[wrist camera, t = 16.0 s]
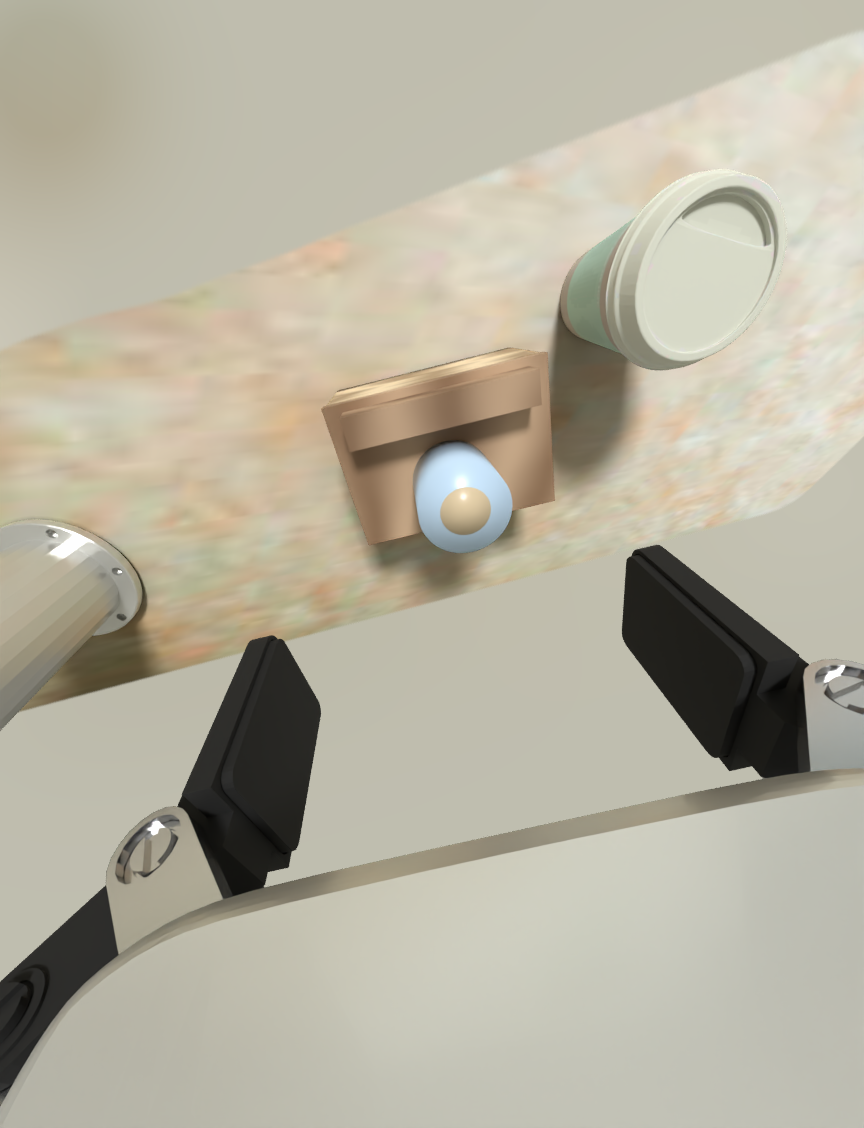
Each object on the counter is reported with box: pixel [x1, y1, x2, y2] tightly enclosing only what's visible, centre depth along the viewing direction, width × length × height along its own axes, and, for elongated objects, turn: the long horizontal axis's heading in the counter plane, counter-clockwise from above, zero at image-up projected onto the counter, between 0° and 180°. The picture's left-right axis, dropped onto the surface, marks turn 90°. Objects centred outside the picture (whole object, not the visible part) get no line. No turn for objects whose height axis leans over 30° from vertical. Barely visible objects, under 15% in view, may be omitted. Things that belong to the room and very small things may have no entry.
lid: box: [321, 352, 555, 545], centre depth 26 cm, size 14×10×3 cm
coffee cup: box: [560, 169, 787, 370], centre depth 24 cm, size 8×8×12 cm
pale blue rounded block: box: [413, 440, 512, 553], centre depth 25 cm, size 6×6×6 cm
